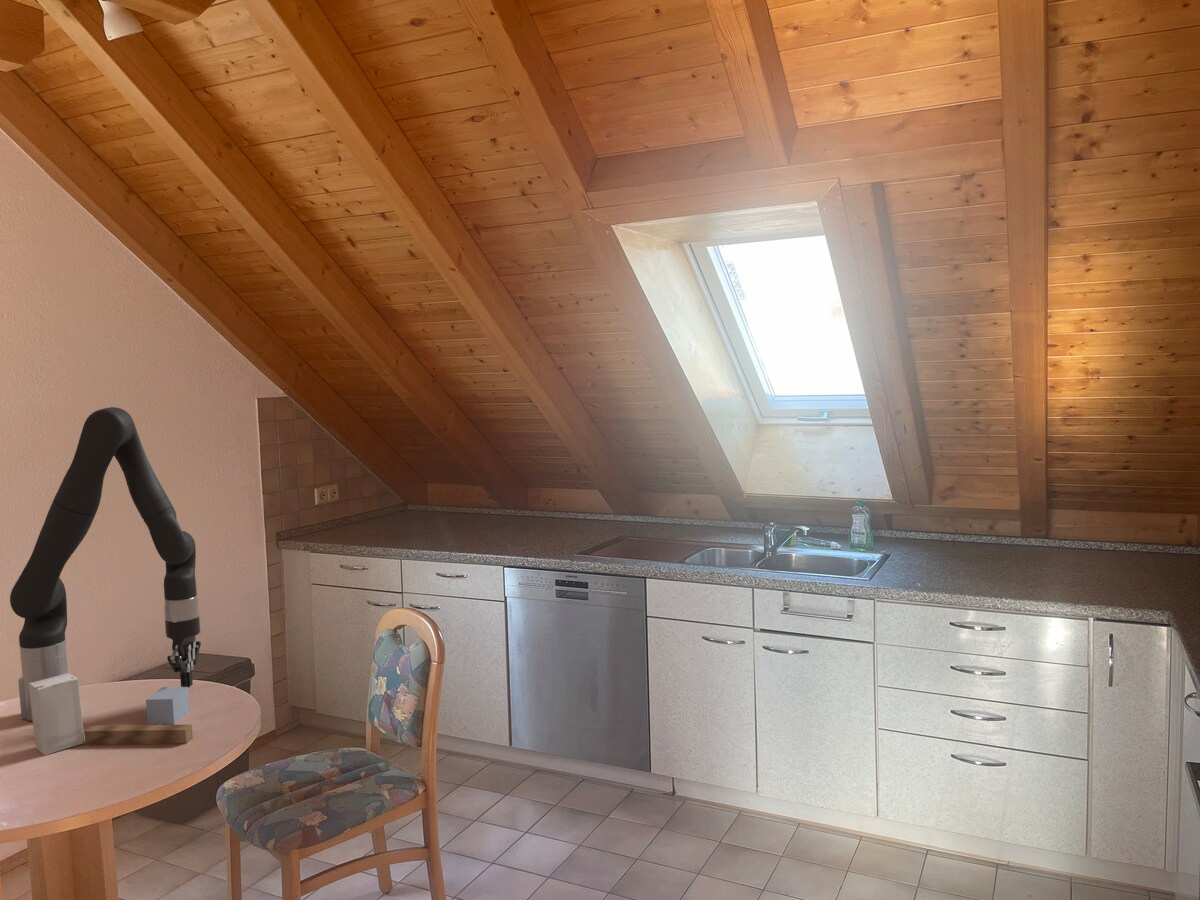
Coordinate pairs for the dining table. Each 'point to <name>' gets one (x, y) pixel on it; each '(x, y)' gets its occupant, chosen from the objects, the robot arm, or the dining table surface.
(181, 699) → the block
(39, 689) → the skincare box
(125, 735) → the board
